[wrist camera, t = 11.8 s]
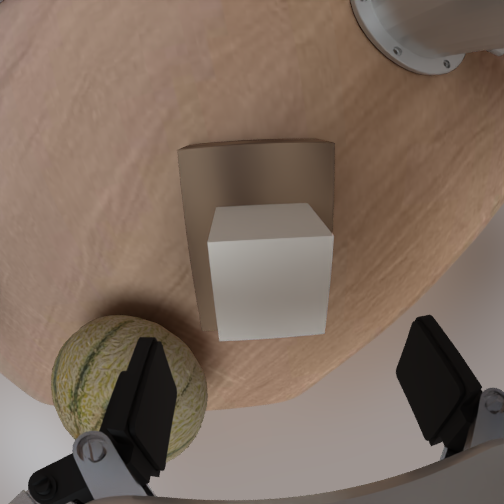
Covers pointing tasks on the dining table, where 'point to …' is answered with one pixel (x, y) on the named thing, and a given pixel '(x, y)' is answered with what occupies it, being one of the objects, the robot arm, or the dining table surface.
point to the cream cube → (270, 271)
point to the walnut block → (248, 191)
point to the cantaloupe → (108, 369)
